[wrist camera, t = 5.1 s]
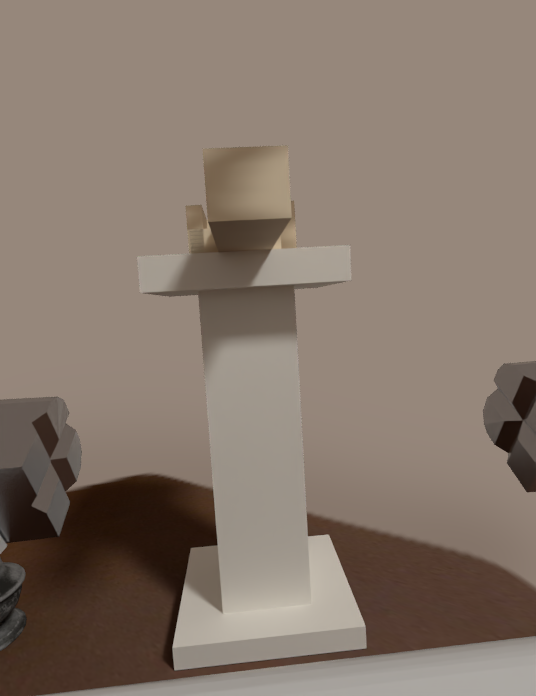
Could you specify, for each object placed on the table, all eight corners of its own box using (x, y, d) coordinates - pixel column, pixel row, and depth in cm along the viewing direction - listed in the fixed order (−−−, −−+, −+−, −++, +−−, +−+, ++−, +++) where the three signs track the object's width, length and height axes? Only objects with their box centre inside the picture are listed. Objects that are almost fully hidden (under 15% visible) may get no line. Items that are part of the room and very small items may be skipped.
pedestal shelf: (174, 670, 27) (136, 256, 24) (192, 564, 38) (167, 271, 35) (366, 648, 28) (350, 245, 25) (329, 550, 38) (315, 263, 36)
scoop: (151, 224, 15) (141, 120, 15) (198, 268, 34) (194, 223, 34) (346, 214, 16) (342, 114, 15) (286, 263, 35) (284, 218, 34)
